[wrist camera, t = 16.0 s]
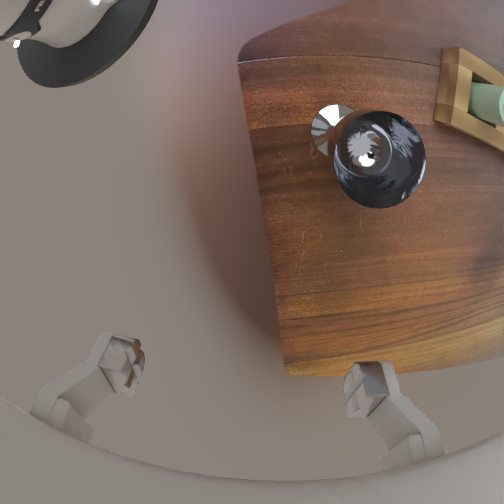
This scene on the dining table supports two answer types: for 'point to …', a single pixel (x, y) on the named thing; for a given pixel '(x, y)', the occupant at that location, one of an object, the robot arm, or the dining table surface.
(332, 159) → the wine glass
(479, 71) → the hollow wooden block
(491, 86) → the bottle
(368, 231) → the dining table surface
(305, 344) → the dining table surface
